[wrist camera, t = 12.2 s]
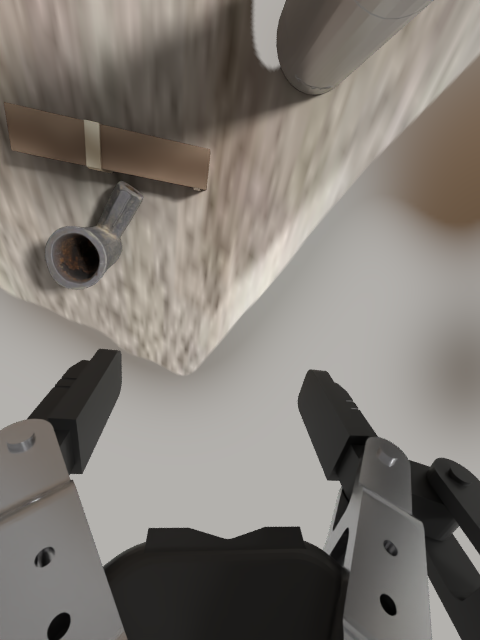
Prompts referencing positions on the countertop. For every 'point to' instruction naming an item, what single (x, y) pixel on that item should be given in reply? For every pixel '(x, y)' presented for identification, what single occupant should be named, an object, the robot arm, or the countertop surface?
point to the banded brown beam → (106, 147)
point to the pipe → (92, 242)
